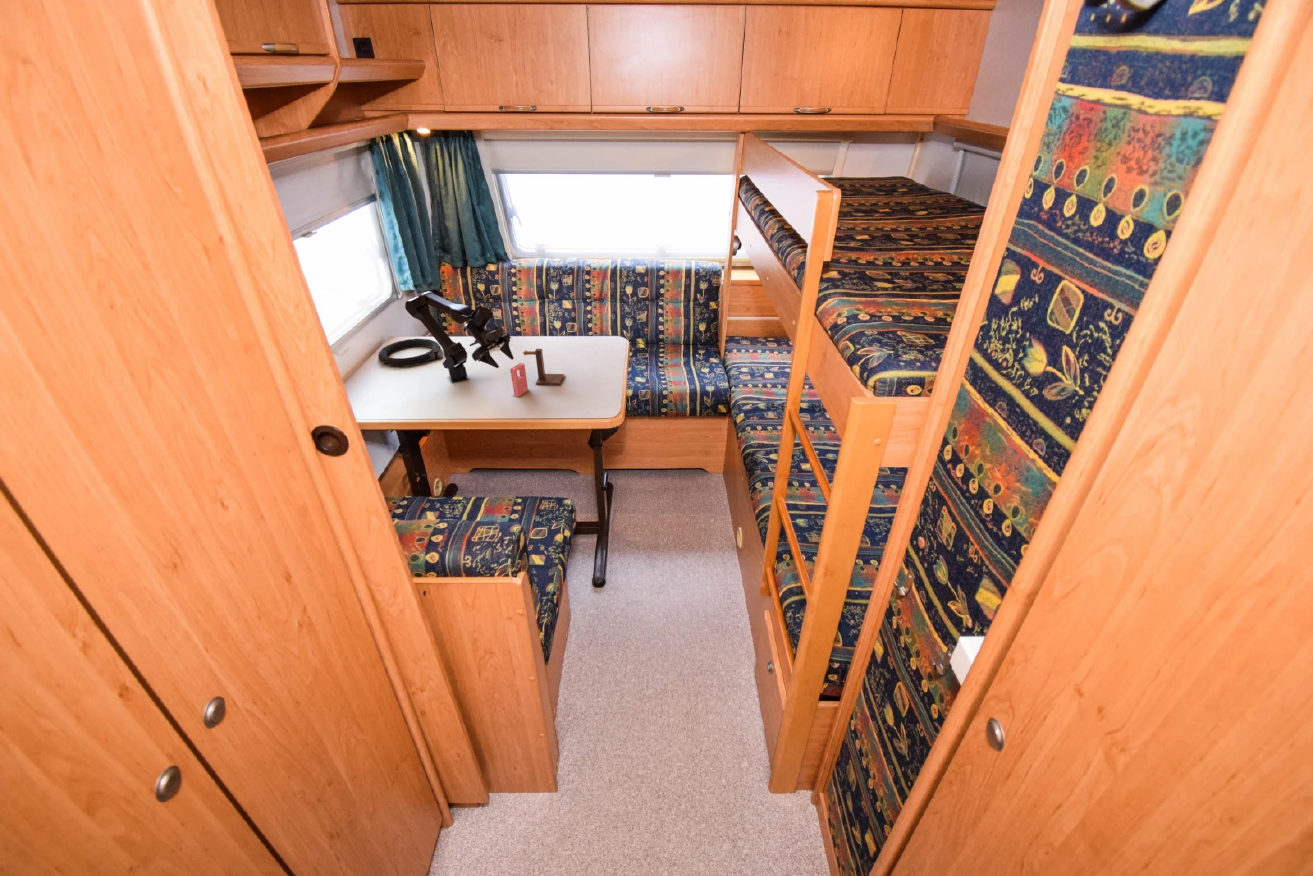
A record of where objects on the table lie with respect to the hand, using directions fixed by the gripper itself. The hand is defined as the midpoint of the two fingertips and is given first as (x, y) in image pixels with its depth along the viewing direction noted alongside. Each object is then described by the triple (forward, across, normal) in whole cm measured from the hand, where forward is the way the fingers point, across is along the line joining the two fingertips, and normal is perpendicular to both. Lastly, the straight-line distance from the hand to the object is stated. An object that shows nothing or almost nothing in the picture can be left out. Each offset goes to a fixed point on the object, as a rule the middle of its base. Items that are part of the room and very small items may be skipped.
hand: (505, 363), depth 235 cm
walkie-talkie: (-20, +33, +38) cm, 54 cm away
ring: (-37, +10, +54) cm, 67 cm away
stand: (+13, +14, +4) cm, 19 cm away
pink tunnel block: (+13, 0, +5) cm, 14 cm away
